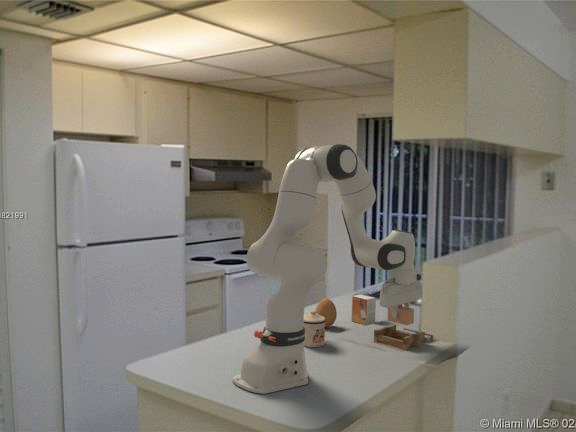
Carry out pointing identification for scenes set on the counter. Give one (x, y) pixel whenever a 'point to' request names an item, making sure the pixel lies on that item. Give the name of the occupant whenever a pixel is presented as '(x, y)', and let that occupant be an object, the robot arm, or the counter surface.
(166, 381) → the counter surface
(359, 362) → the counter surface
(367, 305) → the small box
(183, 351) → the counter surface
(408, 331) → the plank
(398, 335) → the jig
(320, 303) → the egg
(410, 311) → the block
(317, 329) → the teacup with lid
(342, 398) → the counter surface
